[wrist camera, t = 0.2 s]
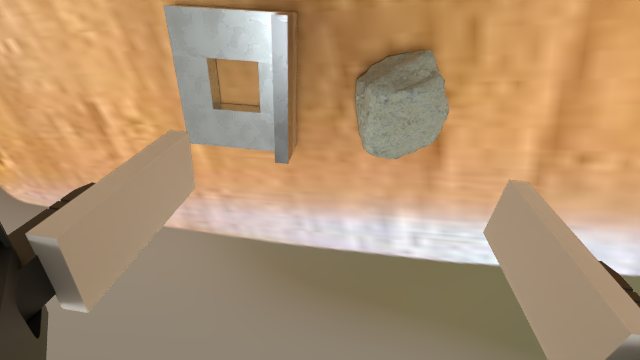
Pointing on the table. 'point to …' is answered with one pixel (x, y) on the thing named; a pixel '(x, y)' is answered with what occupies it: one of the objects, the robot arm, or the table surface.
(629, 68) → the table surface
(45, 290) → the robot arm
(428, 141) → the decorative stone
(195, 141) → the plate
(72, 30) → the table surface
